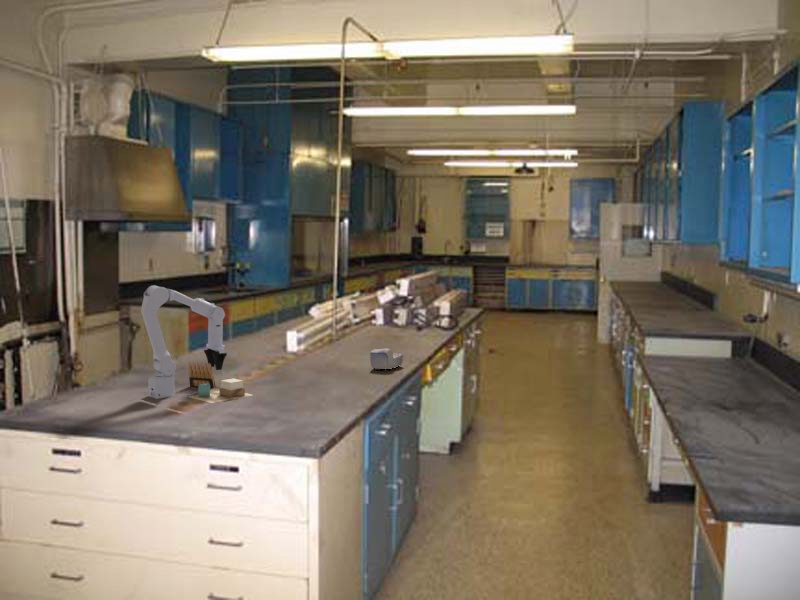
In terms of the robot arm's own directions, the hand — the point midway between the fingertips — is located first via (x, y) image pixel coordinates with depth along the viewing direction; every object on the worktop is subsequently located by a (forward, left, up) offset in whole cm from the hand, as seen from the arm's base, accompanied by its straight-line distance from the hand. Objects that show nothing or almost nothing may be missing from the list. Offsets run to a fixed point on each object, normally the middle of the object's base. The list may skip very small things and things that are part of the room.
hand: (215, 368), depth 311 cm
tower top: (-2, -14, -6) cm, 15 cm away
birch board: (-5, -11, -10) cm, 16 cm away
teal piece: (-10, -7, -9) cm, 15 cm away
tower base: (-2, -14, -9) cm, 16 cm away
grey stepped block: (+91, -14, -10) cm, 93 cm away
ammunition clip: (0, +8, -10) cm, 13 cm away
